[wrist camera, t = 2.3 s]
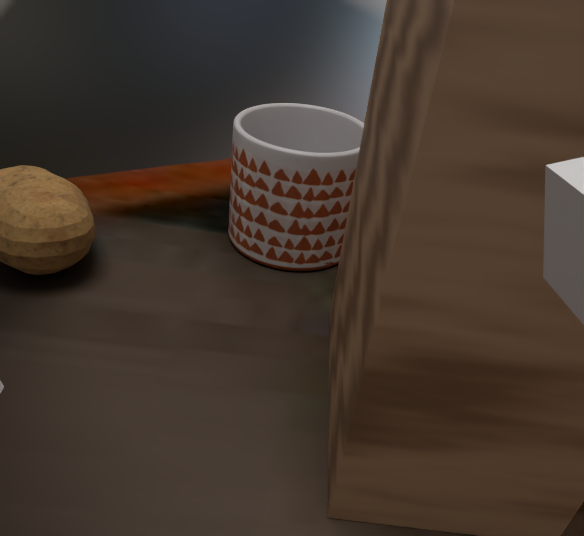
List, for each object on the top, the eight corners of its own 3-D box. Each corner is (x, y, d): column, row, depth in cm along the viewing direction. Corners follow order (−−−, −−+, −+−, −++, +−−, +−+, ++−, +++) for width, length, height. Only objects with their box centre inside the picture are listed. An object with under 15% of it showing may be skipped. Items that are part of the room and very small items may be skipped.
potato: (67, 213, 60) (58, 143, 56) (122, 279, 52) (116, 203, 47) (-33, 235, 55) (-52, 159, 50) (10, 313, 46) (-9, 230, 42)
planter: (238, 276, 54) (245, 153, 47) (220, 208, 65) (225, 100, 58) (370, 270, 57) (396, 154, 50) (332, 207, 68) (349, 104, 61)
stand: (554, 544, 34) (909, 17, 17) (327, 517, 34) (464, -40, 17) (482, 332, 51) (627, -43, 34) (329, 313, 51) (399, -72, 34)
